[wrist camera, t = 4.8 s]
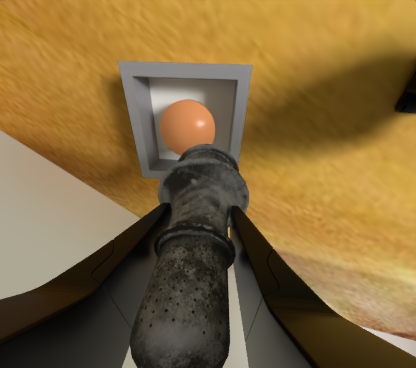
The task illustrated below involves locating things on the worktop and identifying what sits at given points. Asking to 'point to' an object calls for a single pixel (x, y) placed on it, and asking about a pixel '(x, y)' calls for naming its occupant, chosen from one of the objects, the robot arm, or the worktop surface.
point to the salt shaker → (191, 265)
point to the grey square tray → (180, 90)
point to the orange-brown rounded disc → (187, 125)
